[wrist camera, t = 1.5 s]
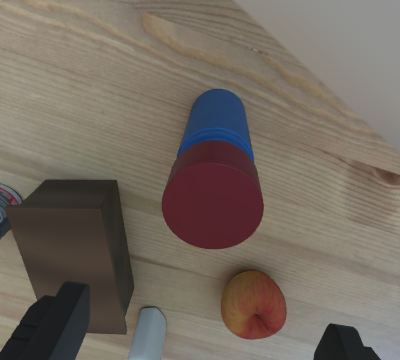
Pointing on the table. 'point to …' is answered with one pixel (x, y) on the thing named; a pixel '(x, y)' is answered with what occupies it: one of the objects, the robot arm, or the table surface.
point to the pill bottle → (3, 197)
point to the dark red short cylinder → (213, 196)
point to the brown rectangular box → (77, 245)
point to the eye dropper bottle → (148, 335)
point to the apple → (253, 305)
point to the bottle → (217, 121)
